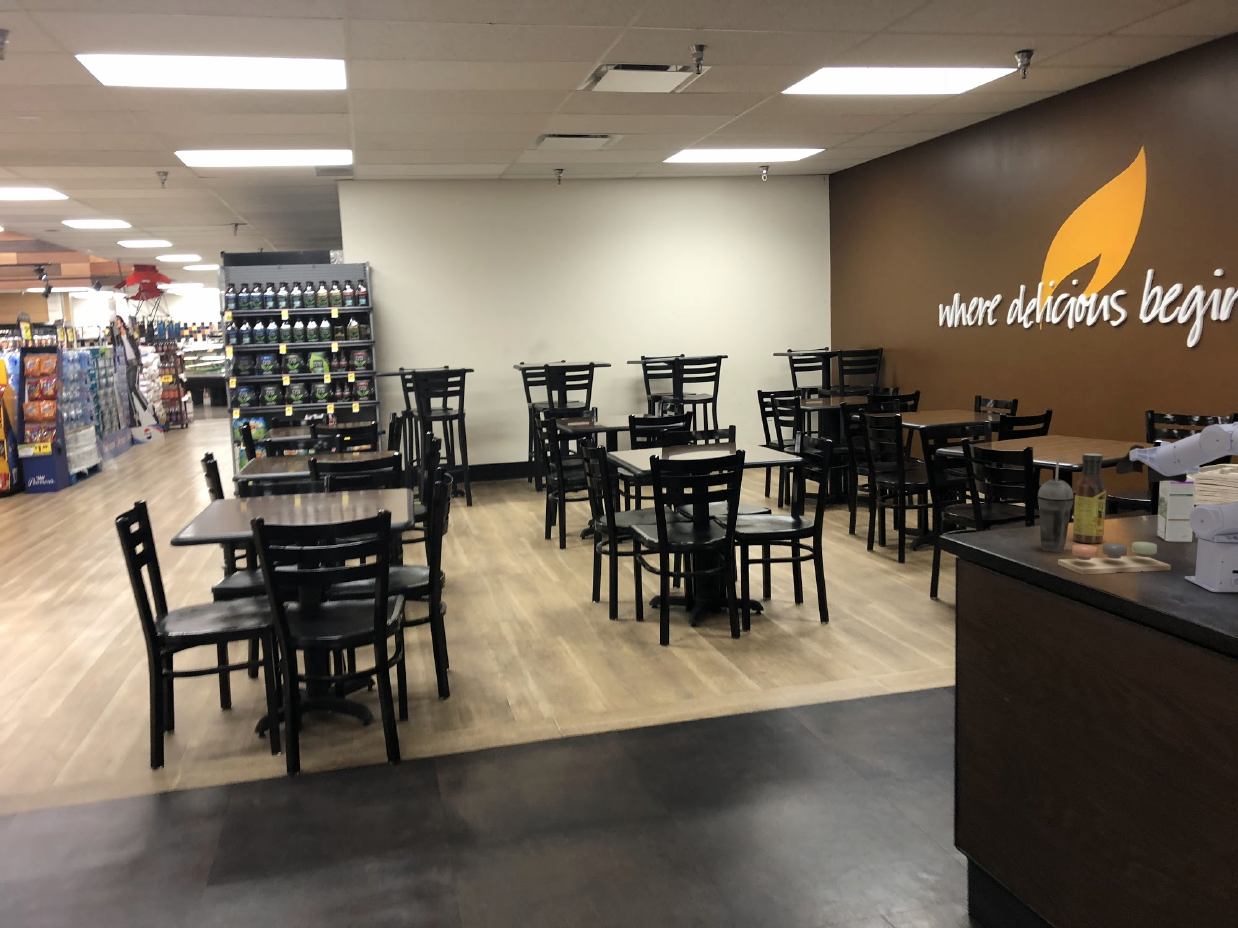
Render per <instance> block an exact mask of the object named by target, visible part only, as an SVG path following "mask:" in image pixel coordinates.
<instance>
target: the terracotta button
mask: <svg viewBox="0 0 1238 928" xmlns="http://www.w3.org/2000/svg"><path fill="white" fill-rule="evenodd" d="M1071 551H1072V552H1071V554H1072V555H1073V556H1076V557H1077V559H1081V560H1090V559H1091V558H1097V554H1098V547H1097V546H1094V545H1091V544H1085V543H1082V544H1073V545H1072V550H1071Z"/></svg>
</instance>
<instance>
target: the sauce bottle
mask: <svg viewBox="0 0 1238 928" xmlns="http://www.w3.org/2000/svg"><path fill="white" fill-rule="evenodd" d="M1103 457H1104V455H1103V454H1101V453H1083V454H1082V474H1081V476H1080V477H1079V478H1078V479H1077V481H1076V484H1075V495H1074V504H1073V505H1074V507H1073V508H1074V510H1073V525H1072V533H1073V536H1072V538H1073V540H1074V541H1075V542H1078V543H1082V544H1099V543H1102V542H1103V539H1104V538H1103V537H1104V534H1105V517H1106V504H1107V503H1106V502H1107V501H1106V499H1107V488H1106V485H1105V481H1104V478H1103V475H1102V462H1103V459H1104V458H1103Z"/></svg>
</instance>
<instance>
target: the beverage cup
mask: <svg viewBox="0 0 1238 928" xmlns="http://www.w3.org/2000/svg"><path fill="white" fill-rule="evenodd" d="M1059 468H1060V458H1056V462H1055V477H1054V478H1053V479H1049V480H1047V481H1045V482H1043V483H1042V484H1041V486H1040V488H1039V489H1038V492H1037V496H1036V497H1037V502H1038V504H1037V505H1038V507H1039V532H1040V545H1041V547H1040V548H1041V550H1042V551H1044V550H1045V551H1044V552H1048V551H1052V552H1051V553H1063V552H1065V546H1066V543H1067V536H1068V529H1069V524H1070V523H1069V521H1070V517H1071V510H1072V508H1073V505H1074V504H1073V503H1074V501H1075V496H1074V492H1073V489H1072V487H1071V486H1070V484H1069V483H1067V482H1066V481H1065V480H1062V479H1059ZM1062 551H1063V552H1062Z"/></svg>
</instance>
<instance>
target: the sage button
mask: <svg viewBox="0 0 1238 928" xmlns="http://www.w3.org/2000/svg"><path fill="white" fill-rule="evenodd" d="M1157 550H1158V545H1157V544H1156V543H1154V542H1148V541H1134V542H1131V552H1132V553H1136V556H1140V557H1149V558H1151V555H1156V554H1157V552H1158V551H1157Z"/></svg>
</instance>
